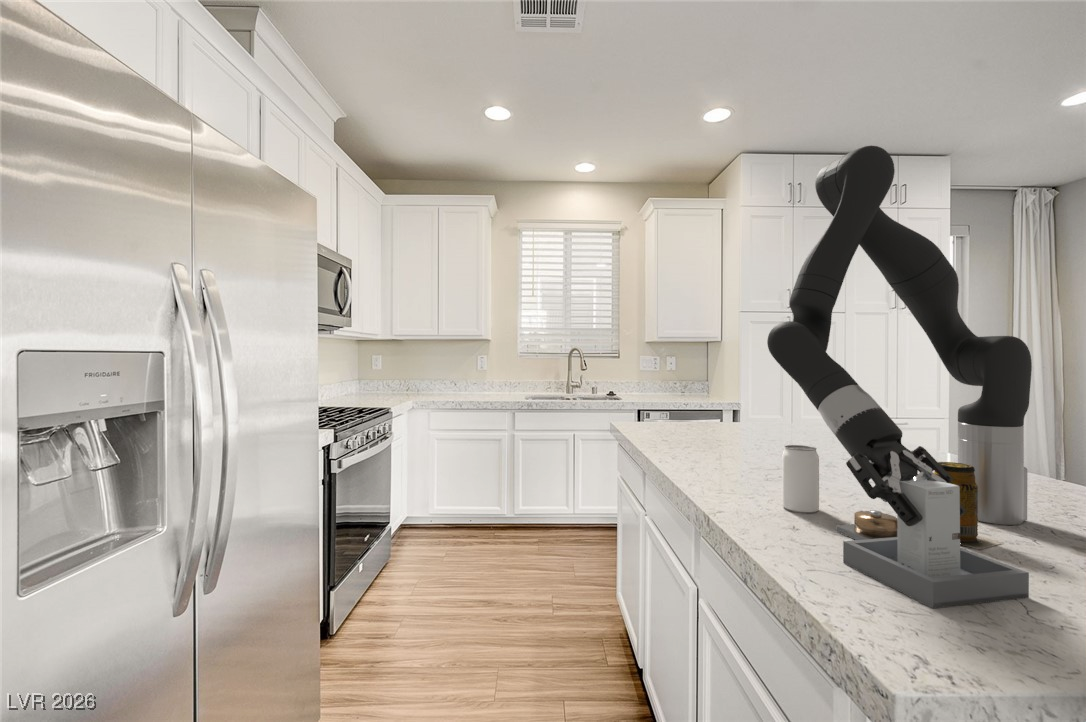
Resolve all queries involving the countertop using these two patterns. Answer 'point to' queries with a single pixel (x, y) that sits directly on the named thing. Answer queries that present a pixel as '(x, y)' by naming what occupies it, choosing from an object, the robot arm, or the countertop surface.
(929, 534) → the skincare box
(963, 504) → the condiment
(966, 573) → the tray
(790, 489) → the can
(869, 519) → the service bell
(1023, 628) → the countertop surface
